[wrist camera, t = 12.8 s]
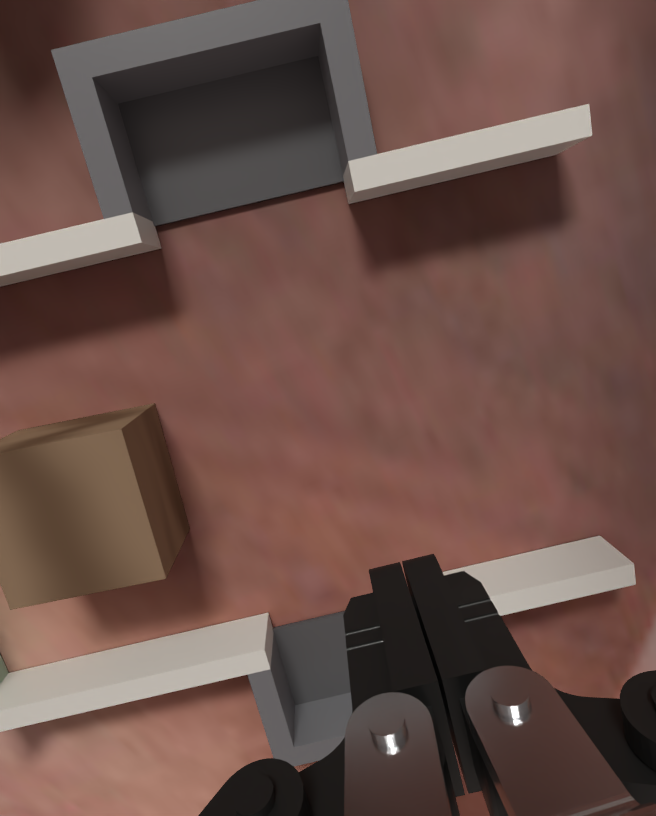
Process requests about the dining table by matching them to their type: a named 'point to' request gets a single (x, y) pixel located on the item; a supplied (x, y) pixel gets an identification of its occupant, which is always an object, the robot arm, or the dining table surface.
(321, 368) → the dining table surface
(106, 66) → the track
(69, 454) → the walnut block
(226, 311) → the dining table surface
